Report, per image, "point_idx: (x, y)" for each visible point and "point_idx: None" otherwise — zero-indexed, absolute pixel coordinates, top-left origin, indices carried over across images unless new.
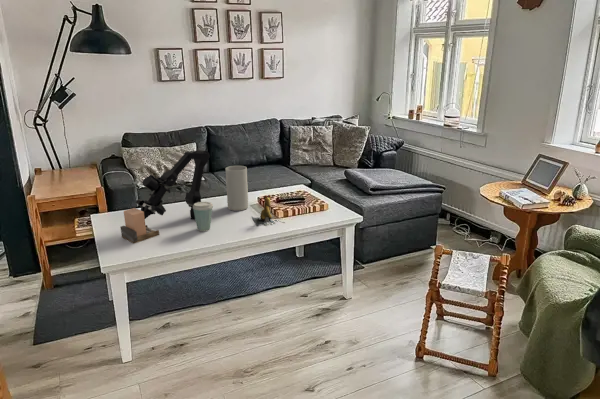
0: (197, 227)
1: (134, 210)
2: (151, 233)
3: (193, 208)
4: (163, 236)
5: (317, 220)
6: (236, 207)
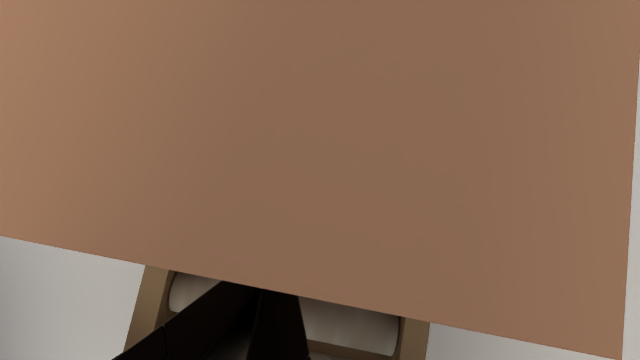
0: None
1: (320, 118)
2: (146, 269)
3: None
4: (78, 354)
5: None
6: None
